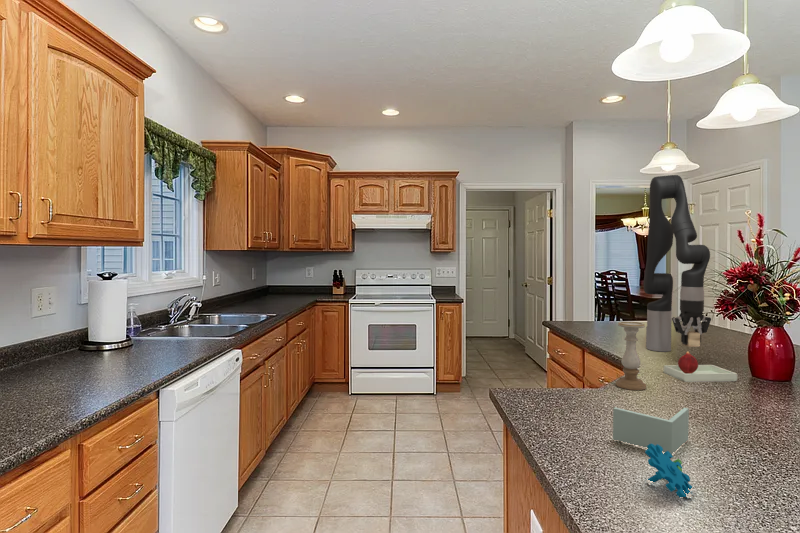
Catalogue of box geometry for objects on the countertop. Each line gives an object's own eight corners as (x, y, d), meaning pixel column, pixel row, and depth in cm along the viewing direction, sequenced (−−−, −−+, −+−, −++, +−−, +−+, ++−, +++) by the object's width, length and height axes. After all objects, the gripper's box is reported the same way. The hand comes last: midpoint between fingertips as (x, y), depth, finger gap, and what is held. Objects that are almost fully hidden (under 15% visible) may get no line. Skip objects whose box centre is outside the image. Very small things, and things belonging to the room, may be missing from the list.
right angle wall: (688, 441, 104) (688, 408, 104) (671, 457, 96) (672, 422, 96) (632, 426, 113) (632, 396, 113) (612, 440, 105) (613, 408, 104)
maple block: (682, 344, 172) (682, 331, 172) (692, 344, 173) (692, 330, 172) (689, 346, 168) (689, 333, 168) (699, 346, 169) (700, 333, 168)
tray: (663, 372, 162) (663, 365, 162) (712, 371, 162) (712, 364, 162) (684, 381, 150) (684, 374, 150) (737, 381, 151) (737, 373, 151)
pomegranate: (701, 377, 153) (702, 353, 153) (684, 377, 153) (685, 353, 153) (690, 372, 159) (691, 349, 159) (674, 372, 159) (674, 349, 159)
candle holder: (624, 390, 141) (625, 325, 140) (610, 382, 150) (610, 321, 149) (652, 390, 141) (652, 325, 141) (636, 382, 150) (637, 320, 150)
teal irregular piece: (685, 502, 76) (643, 445, 82) (656, 516, 79) (617, 461, 85) (706, 488, 83) (666, 437, 89) (679, 502, 86) (642, 452, 92)
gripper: (703, 296, 173) (702, 341, 175) (666, 297, 173) (666, 342, 174) (718, 299, 166) (716, 346, 167) (679, 300, 165) (678, 347, 166)
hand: (690, 343), depth 170 cm, fingers closed on maple block, 4 cm apart
